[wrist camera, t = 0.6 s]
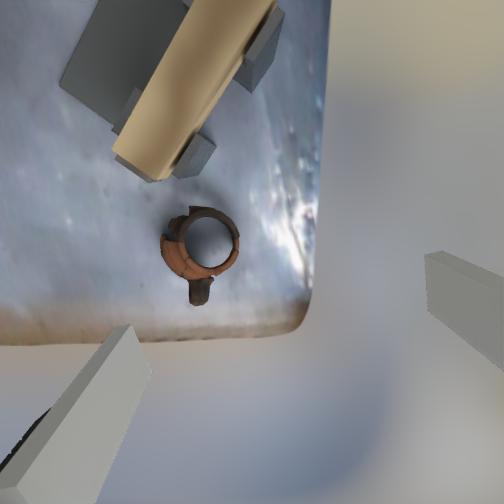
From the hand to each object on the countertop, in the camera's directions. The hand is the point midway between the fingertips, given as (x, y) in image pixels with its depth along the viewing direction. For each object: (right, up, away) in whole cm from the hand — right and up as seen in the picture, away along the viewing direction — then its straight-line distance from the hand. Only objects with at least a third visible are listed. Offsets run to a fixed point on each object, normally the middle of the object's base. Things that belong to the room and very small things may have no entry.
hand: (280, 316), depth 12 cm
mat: (-14, +25, +18) cm, 33 cm away
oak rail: (-6, +18, +13) cm, 23 cm away
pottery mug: (-8, +3, +25) cm, 26 cm away
